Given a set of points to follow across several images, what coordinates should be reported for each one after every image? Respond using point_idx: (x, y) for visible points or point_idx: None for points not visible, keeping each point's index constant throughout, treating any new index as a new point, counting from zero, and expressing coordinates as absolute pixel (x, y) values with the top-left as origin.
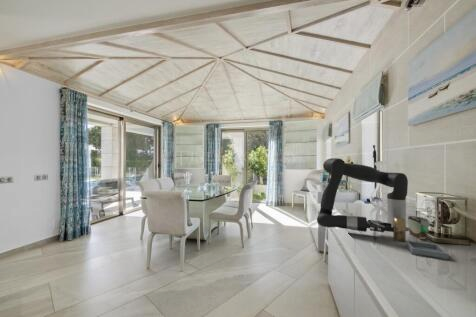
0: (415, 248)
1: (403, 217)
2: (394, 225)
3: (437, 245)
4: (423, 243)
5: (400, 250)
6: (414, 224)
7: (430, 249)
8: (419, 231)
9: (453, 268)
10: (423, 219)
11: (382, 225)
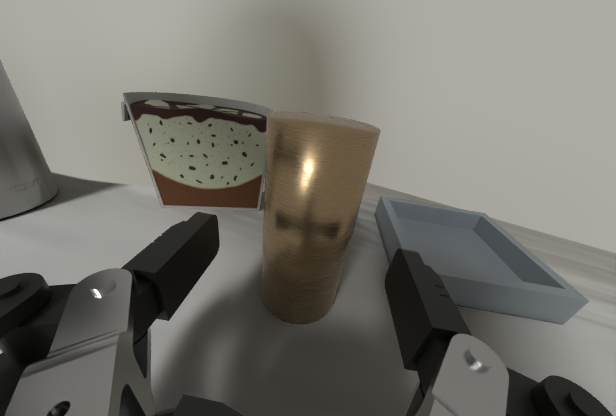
0: (560, 282)
1: (21, 115)
2: (336, 217)
3: (395, 200)
4: (398, 223)
5: (561, 369)
6: (206, 143)
7: (406, 229)
8: (255, 172)
9: (556, 250)
10: (198, 103)
11: (156, 313)
